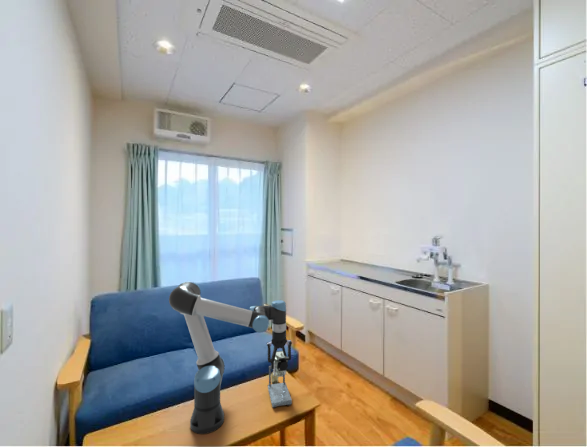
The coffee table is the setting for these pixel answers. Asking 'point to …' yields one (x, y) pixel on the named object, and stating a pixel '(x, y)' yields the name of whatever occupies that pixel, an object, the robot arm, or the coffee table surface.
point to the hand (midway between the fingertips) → (279, 373)
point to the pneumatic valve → (280, 363)
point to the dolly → (279, 392)
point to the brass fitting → (274, 378)
